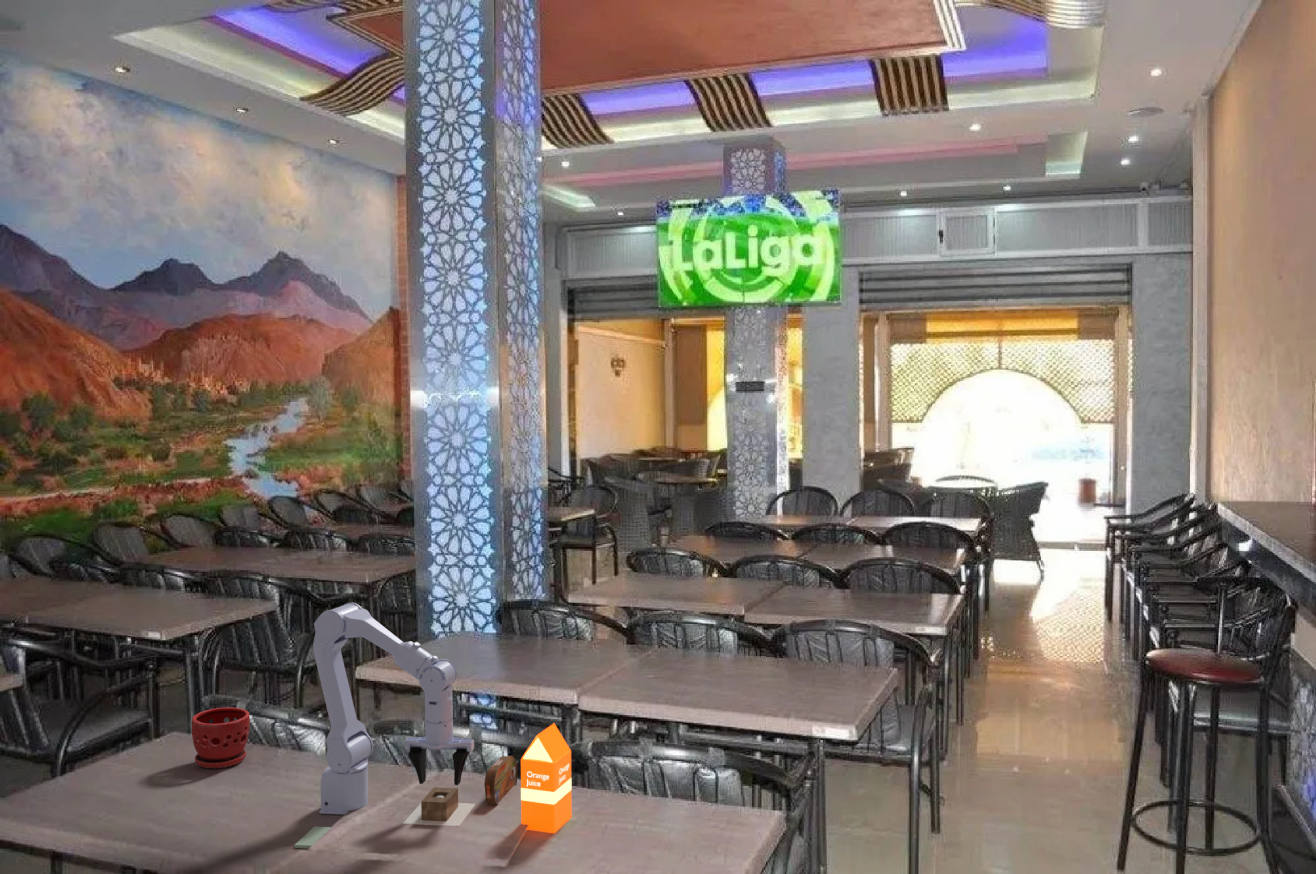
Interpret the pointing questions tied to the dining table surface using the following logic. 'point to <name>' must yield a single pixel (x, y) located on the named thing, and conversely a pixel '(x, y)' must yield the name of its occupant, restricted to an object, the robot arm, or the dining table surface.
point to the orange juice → (546, 782)
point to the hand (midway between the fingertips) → (440, 783)
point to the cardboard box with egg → (439, 804)
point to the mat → (311, 837)
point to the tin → (500, 779)
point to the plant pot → (220, 737)
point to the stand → (452, 821)
